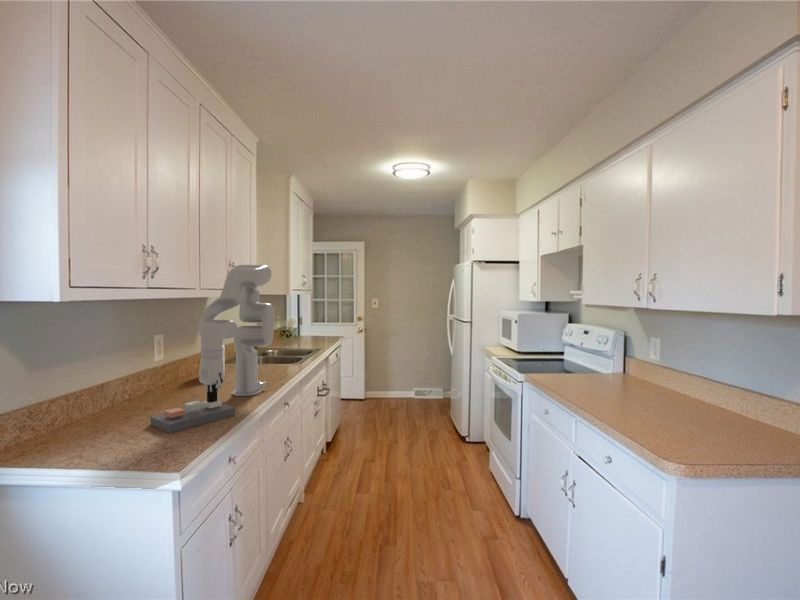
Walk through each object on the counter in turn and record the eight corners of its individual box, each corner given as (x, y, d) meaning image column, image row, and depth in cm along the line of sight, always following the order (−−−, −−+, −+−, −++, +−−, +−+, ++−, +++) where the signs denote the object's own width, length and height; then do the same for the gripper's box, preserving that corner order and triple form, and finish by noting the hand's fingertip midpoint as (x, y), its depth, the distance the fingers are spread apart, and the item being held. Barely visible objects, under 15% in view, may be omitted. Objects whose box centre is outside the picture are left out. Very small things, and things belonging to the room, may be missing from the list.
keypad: (214, 408, 161) (214, 401, 161) (234, 415, 153) (234, 407, 153) (150, 425, 142) (150, 416, 142) (169, 433, 134) (169, 424, 134)
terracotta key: (178, 412, 145) (178, 407, 145) (184, 414, 142) (184, 409, 142) (164, 415, 141) (164, 410, 141) (170, 418, 138) (170, 413, 138)
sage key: (197, 405, 151) (197, 400, 151) (204, 407, 148) (204, 402, 148) (184, 408, 147) (184, 403, 147) (191, 410, 144) (191, 405, 144)
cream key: (214, 403, 157) (214, 398, 156) (221, 405, 154) (221, 400, 154) (203, 406, 153) (202, 401, 153) (209, 408, 150) (209, 403, 150)
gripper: (192, 353, 154) (192, 400, 154) (213, 357, 145) (213, 407, 146) (210, 351, 160) (211, 396, 160) (232, 354, 151) (232, 402, 152)
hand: (212, 401), depth 153 cm, fingers closed
